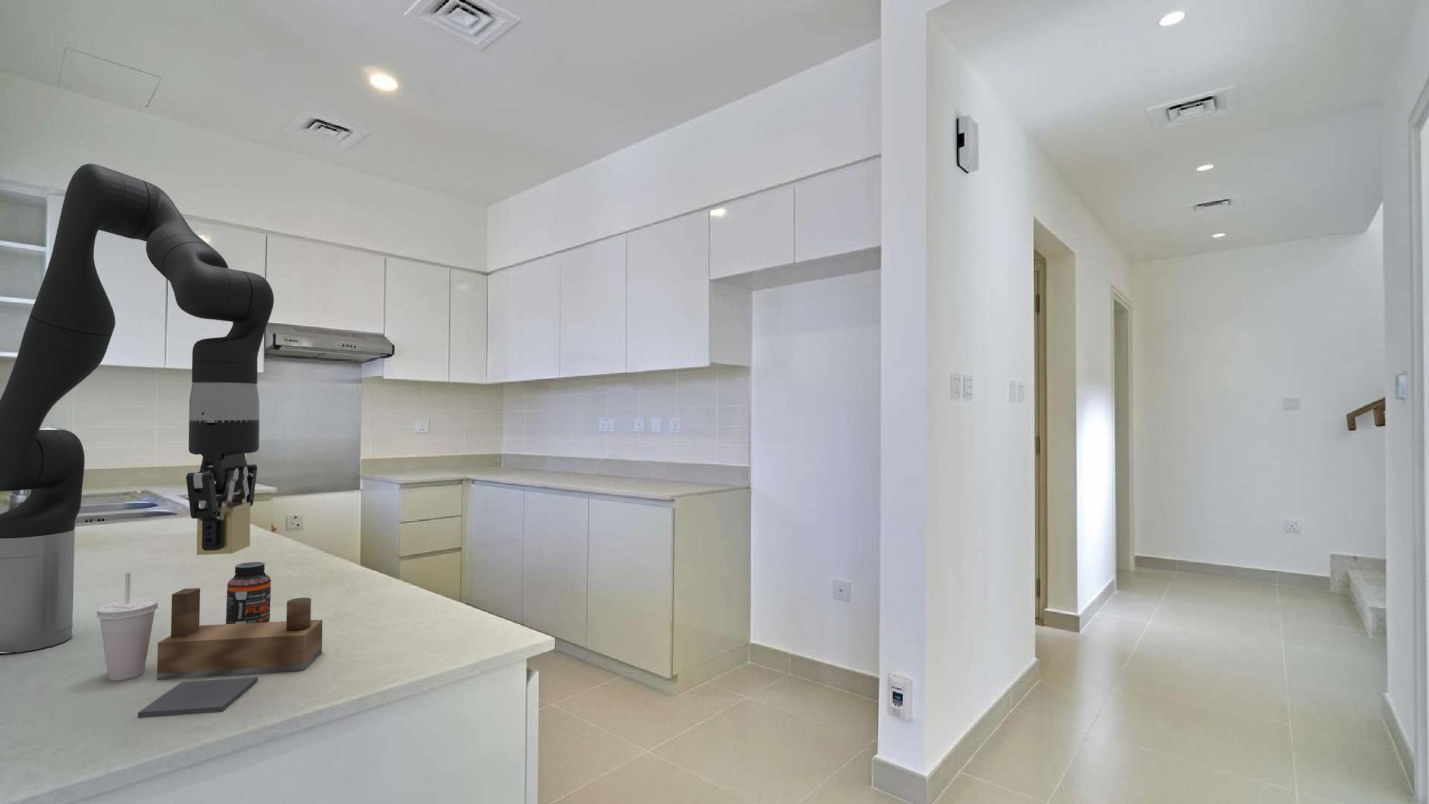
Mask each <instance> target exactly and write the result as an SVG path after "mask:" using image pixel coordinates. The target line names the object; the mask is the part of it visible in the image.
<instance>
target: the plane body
mask: <svg viewBox="0 0 1429 804" xmlns="http://www.w3.org/2000/svg"><path fill="white" fill-rule="evenodd" d="M200 609H201V588H200V587H194V588H193V587H192V588H191V587H190V588H182V589H181V590H178V591H176V592H174V593H172V594H171V616H170V617H171V618H170V619H171V621H170V635H169V636H167V637H165V638H164V639H162V640H160V641H159V642H157V661H156V663H157V666H156V667H157V668H156V669H157V670H156V681H157V680H158V681H159V680H171V679H173V680H174V679H186V678H187V679H189V678H202V677H205V678H206V677H219V676H220V677H221V676H233V675H234V676H235V675H237V676H238V675H251V674H265V673H266V674H269V673H281V672H282V673H286V672H299V671H305V669H307V668H308V667H309V666H310V664H312V662H313V661H315V660H316V659H317V658H318V657H319V656H320V655H321V654H322V652H323V619H312V617H311V616H312V598H311V597H297V598H295V597H294V598H291V599H289V600H286V620H285V621H283V620H282V621H270V622H262V623H241V624H226V623H223V624H205V625H203V624H202V625H201V624H200V617H201V616H200V611H201V610H200Z"/></svg>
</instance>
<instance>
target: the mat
mask: <svg viewBox="0 0 1429 804" xmlns="http://www.w3.org/2000/svg"><path fill="white" fill-rule="evenodd" d="M258 681H259V677H258V676H254V677H253V676H252V677H237V678H236V677H235V678H222V679H218V678H217V679H205V680H192V681H191V680H190V681H188V680H187V681H181V682H180V683H178V684H176V685H175V686H174V687H172V688H171V689H170V690H168V691H166V692H165V693H164V694H163V695H161V696H160V697H158V698H157V699H155V700H154V701H152V702H151V703H150V704H148V705H146V706H145V707H144V708H142V709H140V711H138V712H137V718H149V717H151V718H152V717H162V716H164V717H165V716H175V715H176V716H178V715H190V714H205V713H217V712H224V711H225V710H226V709H227V708H228V707H229V706H231V705H232V704H234V702H236V701H237V700H238V699H240V697H241V696H243V695H244V693H246V692H247V691H248V690H250V689H251V688H252V687H253V686H254V685H256V683H257V682H258Z"/></svg>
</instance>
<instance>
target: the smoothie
mask: <svg viewBox="0 0 1429 804" xmlns="http://www.w3.org/2000/svg"><path fill="white" fill-rule="evenodd" d="M124 574H125V580H124V582H125V583H124V584H125V585H124V600H120V601H115V602H111V603H108V604H104V605H102V606H100V607H99V608H97V611H96V618H97V619H99V621H100V630H101V636H102V643H103V650H104V656H105V664H106V672H107V679H108V680H109V681H123V680H129V679H134V678H136V677H139V676H141V675H144V673H145V669H146V663H147V659H148V657H147V656H148V652H149V646H150V641H151V635H152V630H153V622H154V618H155V611H157V610H158V609H159V605H158V603H159V602H158V600H157V599H153V598H134V599H131V585H132V583H131V581H132V580H131V577H132V575H131V572H125V573H124Z"/></svg>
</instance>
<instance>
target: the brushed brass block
mask: <svg viewBox="0 0 1429 804" xmlns="http://www.w3.org/2000/svg"><path fill="white" fill-rule="evenodd" d="M217 507H218V503H217ZM223 520H224V547H223V548H222V549H220V550H211V551H205V550H203V549H202V521H199V519H198V518H197V519H196V522H197V523H196V556H204V555H205V556H206V555H207V556H211V555H228V554H231V555H232V554H234V553H237V552H239V551H241V550H243V549H246V548H248V547H250V546H251V506H250V502H243V503H238V502H237V503H232V501H231V502H230V503H228V504H227V505H226V508H225V516H224V519H223Z"/></svg>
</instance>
